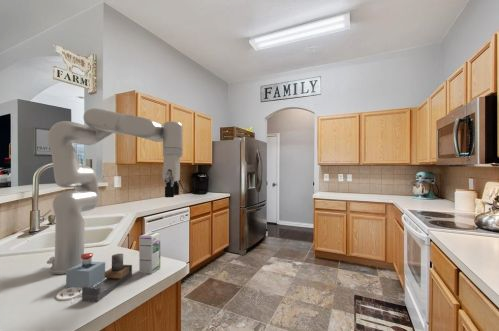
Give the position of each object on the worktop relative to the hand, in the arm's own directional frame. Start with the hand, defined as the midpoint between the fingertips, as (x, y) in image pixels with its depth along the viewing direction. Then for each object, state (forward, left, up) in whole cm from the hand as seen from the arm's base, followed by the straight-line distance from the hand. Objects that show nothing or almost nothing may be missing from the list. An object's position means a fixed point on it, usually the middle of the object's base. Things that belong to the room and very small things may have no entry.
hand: (172, 196), depth 92 cm
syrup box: (-9, +1, -30) cm, 31 cm away
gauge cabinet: (-26, -11, -30) cm, 41 cm away
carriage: (-16, -9, -28) cm, 33 cm away
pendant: (-25, -19, -30) cm, 44 cm away
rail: (-16, -13, -30) cm, 36 cm away
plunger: (-26, -11, -24) cm, 37 cm away
